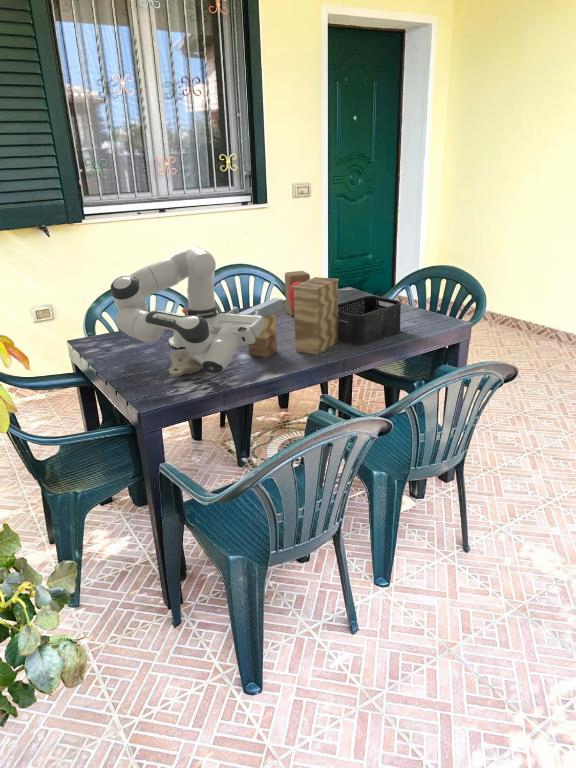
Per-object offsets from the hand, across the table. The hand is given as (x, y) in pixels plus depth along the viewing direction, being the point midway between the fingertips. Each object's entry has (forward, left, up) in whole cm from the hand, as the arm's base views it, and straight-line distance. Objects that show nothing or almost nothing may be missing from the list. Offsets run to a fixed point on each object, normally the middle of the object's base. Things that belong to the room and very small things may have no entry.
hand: (247, 308), depth 214 cm
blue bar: (+7, +6, -5) cm, 11 cm away
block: (+40, +55, -20) cm, 71 cm away
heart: (+37, +37, -20) cm, 56 cm away
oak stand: (+29, +4, -20) cm, 36 cm away
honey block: (+7, +6, -13) cm, 15 cm away
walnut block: (+7, +6, -20) cm, 22 cm away
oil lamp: (-26, -5, -19) cm, 33 cm away
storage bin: (+54, +10, -20) cm, 58 cm away
